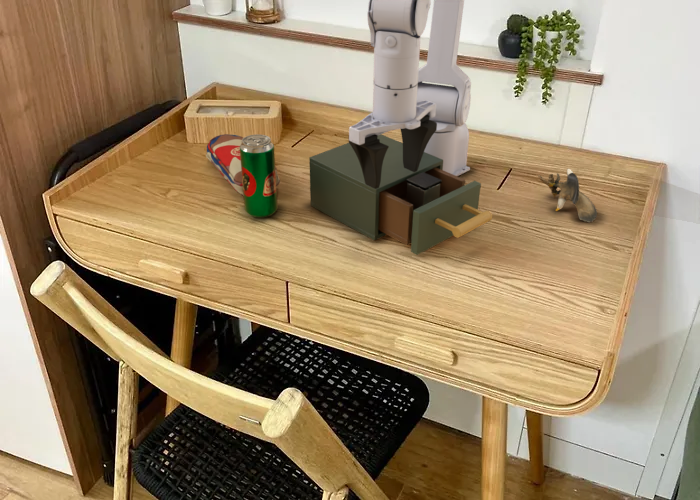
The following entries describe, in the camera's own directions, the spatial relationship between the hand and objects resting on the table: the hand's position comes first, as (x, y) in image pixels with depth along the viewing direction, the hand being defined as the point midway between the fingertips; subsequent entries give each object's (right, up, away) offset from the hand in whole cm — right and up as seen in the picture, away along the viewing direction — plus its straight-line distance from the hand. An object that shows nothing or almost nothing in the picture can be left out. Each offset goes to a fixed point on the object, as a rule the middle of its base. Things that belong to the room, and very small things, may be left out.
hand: (391, 177), depth 99 cm
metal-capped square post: (+5, -6, +6) cm, 10 cm away
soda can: (-20, -4, +12) cm, 23 cm away
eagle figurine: (+29, -4, +13) cm, 32 cm away
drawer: (+5, -7, +6) cm, 11 cm away
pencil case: (-24, +2, +22) cm, 33 cm away
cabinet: (-2, -3, +13) cm, 14 cm away
